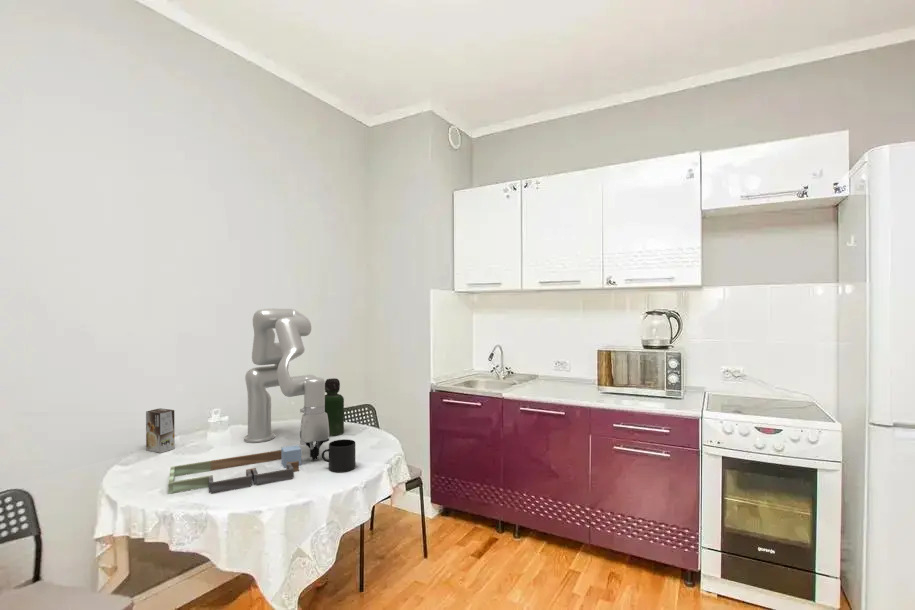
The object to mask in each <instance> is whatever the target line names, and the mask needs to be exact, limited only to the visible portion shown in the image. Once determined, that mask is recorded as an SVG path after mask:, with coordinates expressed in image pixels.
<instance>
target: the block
mask: <svg viewBox="0 0 915 610" xmlns="http://www.w3.org/2000/svg"><path fill="white" fill-rule="evenodd" d="M280 450H281V459H280V460H281V461H280V462H281V463H280V464H281V465H282V467H283V469H286V463H289V462H295V461H299V467H300V466H302V448H301V447H300V444H299V445H298V444H295V445H288V446H283V447H281V449H280Z"/></svg>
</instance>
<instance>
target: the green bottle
mask: <svg viewBox="0 0 915 610" xmlns="http://www.w3.org/2000/svg"><path fill="white" fill-rule="evenodd" d="M324 381H325V393H326V394H325V412H326V413H327V415H328V422H329V437H335V436H339V435H342V434H344V433H345V404H344V403H345V397H344V396H343V395H342V394H339V392H340V387H341V382H340V380H339V379H338V378H334V377H333V378H326V380H324Z"/></svg>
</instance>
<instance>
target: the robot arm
mask: <svg viewBox="0 0 915 610" xmlns="http://www.w3.org/2000/svg"><path fill="white" fill-rule="evenodd" d="M252 328H253V334H254V335H253V339H252V340H253V342H252V351H251V361H252V363H253V364H254V365H256V366H258V367H253V368H250V369H248V371H246V374H245V376H244V377H245V379H244V380H245V385H246V391H247V393H246V394H247V435H245V436H244V437H243V441H244V442H246V443H262V442H269V441H271V440H273V439H274V438H275V437H276V434H275V433H274V432H272V396H271V395H270V393H269V392H268V391H267V390H266V389H269V388H273V387H275V388H276V387H279V388H280V392H282V394H283V395H284V397H288V398H291V397H297V396H303V401H304V403H303V408H300V409H299V412H300V413H302V416H301V419H300V421H301V422H300V431H299V437H300V440H299V446H306V447H308V448H309V456H310V458H311V459H312V461H314V460H318V459H319V456H320V448H321V446H322V445H323V444H324V443H327V442H328V441H330V438H329V437H330V436H329V422H328V415H327V413H326V412H325V395H326V394H325V393H326V392H325V381H326V380H325V379H324V377H317V376H315V375H314V374H305V375H295V376H291V375H290V371H289V366H290V365H289V364H290V362H291V361H294V360H295V359H297V358H299V357H301V356H302V355H303V354H304V353H305V350H306V349H305V346H304V342H303V339H302V337H307V336H309V335H310V334H311V333H312V323H311V321H310V320H309V318H308V317H307V316H306V315H304V314H303V313H301V312H299V311H298V310H296V309H294V308H262V309H257V310H256V311H255V313H253V316H252ZM274 329H275V330H274ZM276 336H277V338H278V342H275V341H276V339H275V338H276ZM314 443H315V444H314Z"/></svg>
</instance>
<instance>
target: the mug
mask: <svg viewBox="0 0 915 610" xmlns="http://www.w3.org/2000/svg"><path fill="white" fill-rule="evenodd" d="M326 452H327V453H328V459H327V458H326V457H325V454H326ZM321 459H322V460H323V461H324V462H327V463H328V470H329V471H330V472H331V473H333V472H334V473H344V472H345V473H346V472H350V471H352V470H354V469H355V467H356V441H355V440H352V439H335V440H333V441H330V442H329V443H328V448H326V449H325V450H323V451H322V453H321Z"/></svg>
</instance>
